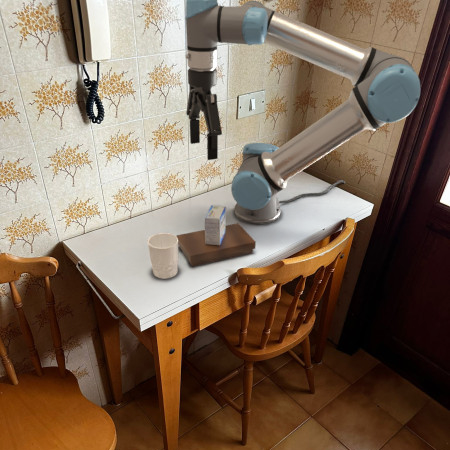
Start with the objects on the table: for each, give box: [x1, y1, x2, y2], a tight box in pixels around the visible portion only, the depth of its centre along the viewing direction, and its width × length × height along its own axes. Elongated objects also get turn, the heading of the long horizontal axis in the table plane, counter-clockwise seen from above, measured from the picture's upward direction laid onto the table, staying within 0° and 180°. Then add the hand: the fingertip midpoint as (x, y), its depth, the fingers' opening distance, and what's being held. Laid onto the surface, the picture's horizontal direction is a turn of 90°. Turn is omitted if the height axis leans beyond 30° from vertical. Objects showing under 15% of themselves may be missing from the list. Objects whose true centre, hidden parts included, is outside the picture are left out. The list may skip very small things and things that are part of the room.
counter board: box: [175, 222, 257, 267], centre depth 130 cm, size 20×12×4 cm, turn 114°
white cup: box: [147, 232, 179, 280], centre depth 119 cm, size 8×8×10 cm
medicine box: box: [204, 204, 227, 246], centre depth 126 cm, size 8×4×9 cm, turn 169°
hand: (203, 150), depth 126 cm, fingers open, 13 cm apart
